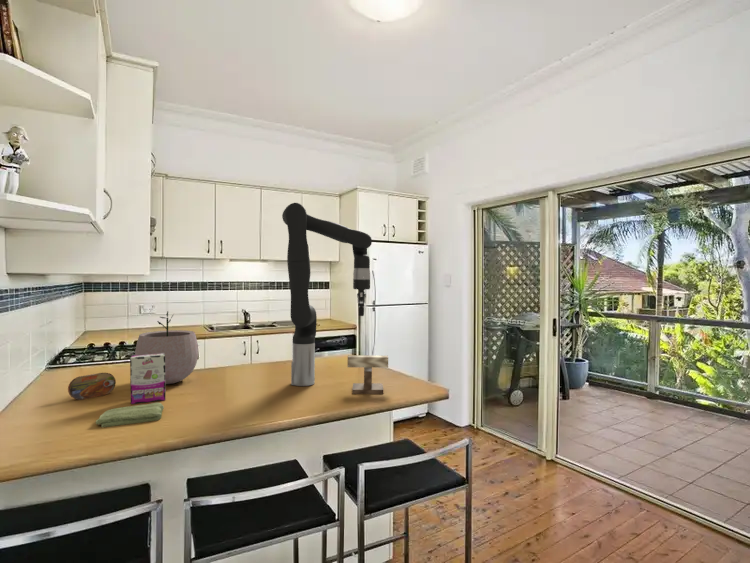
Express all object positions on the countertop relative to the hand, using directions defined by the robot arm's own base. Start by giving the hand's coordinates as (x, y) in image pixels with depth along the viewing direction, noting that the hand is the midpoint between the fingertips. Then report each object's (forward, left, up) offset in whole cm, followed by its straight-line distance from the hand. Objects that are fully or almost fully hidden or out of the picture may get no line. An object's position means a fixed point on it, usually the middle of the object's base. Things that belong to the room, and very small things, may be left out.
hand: (361, 315), depth 190 cm
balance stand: (+3, -20, -28) cm, 35 cm away
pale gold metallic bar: (+3, -20, -19) cm, 27 cm away
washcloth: (-72, -54, -29) cm, 94 cm away
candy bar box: (-76, -35, -28) cm, 88 cm away
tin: (-99, -30, -28) cm, 107 cm away
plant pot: (-81, -9, -28) cm, 86 cm away
